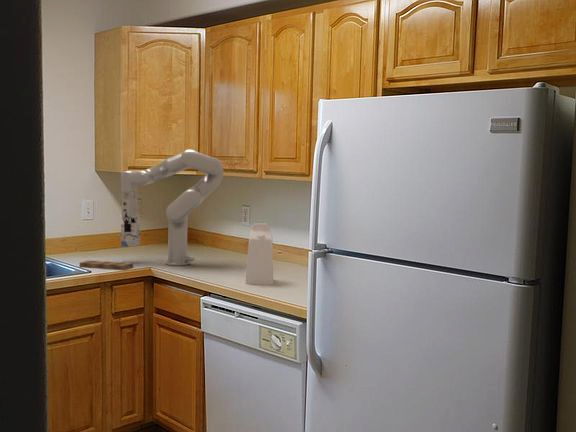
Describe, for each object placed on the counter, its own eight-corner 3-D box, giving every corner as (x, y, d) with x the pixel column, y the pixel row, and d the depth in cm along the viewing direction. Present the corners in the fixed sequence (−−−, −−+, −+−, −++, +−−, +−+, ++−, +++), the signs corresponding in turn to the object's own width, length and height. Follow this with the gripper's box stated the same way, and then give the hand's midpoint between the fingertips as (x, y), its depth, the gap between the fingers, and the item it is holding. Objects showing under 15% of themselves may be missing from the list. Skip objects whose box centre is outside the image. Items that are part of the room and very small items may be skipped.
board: (133, 267, 294) (133, 263, 294) (125, 270, 286) (125, 265, 286) (88, 264, 299) (88, 260, 299) (79, 266, 291) (79, 262, 291)
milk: (272, 279, 274) (274, 222, 271) (273, 284, 262) (274, 225, 260) (246, 278, 273) (247, 221, 271) (245, 284, 262) (246, 224, 260)
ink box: (120, 246, 305) (119, 223, 304) (126, 245, 309) (125, 222, 308) (135, 247, 302) (134, 223, 301) (141, 245, 307) (140, 222, 306)
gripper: (128, 196, 294) (129, 233, 296) (143, 194, 311) (144, 229, 313) (114, 196, 296) (115, 233, 298) (130, 194, 313) (131, 229, 314)
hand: (130, 230), depth 305 cm, fingers closed on ink box, 5 cm apart
